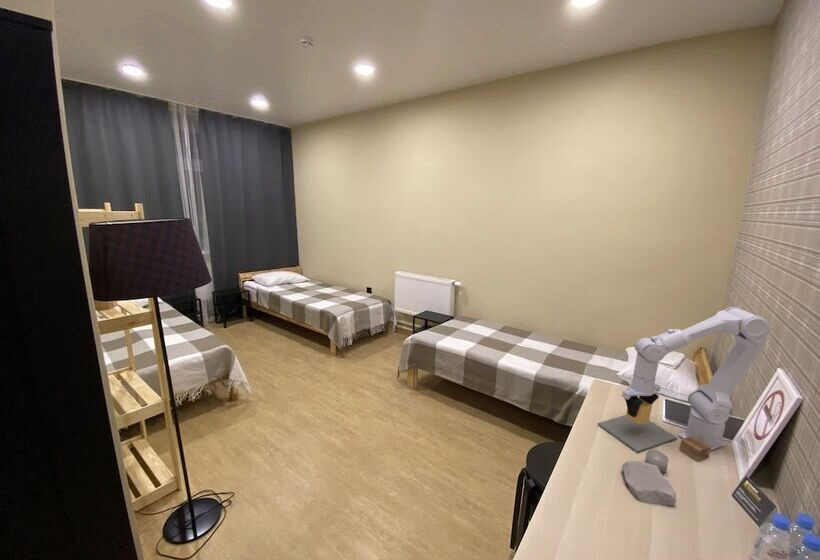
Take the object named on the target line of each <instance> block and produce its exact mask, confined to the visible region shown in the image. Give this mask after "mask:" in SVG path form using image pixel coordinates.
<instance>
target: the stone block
mask: <svg viewBox="0 0 820 560" xmlns="http://www.w3.org/2000/svg"><path fill="white" fill-rule="evenodd" d="M621 468H622V470H623V475H624V479H625V482H626V484H627V487H628V489H629V492H631V494H633V496H634V497H635V498H636V499H637V500H638V501H640V502H642V503H646V504H648V505H662V506H669V507H670V506H671V507H674V506H675V505H676V502H677V492H676V491H675V489H674V487H673V486H672V484H671V482H669V480H668V479H666V478H665V477H664V476H663V475H662V474H661V473H660V470H659V468H658V466H656V465H653V464H649V463H645V461H639V460H638V461H637V460H627V461H626V460H625V462H623V463H622V464H621Z"/></svg>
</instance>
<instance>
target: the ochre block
mask: <svg viewBox="0 0 820 560" xmlns="http://www.w3.org/2000/svg"><path fill="white" fill-rule="evenodd" d="M639 399H640V398H639ZM640 400H642V399H640ZM642 401H644V400H642ZM652 407H653V404H652V405H651V404H649V403H647V402H646V401H644V402H643V403H642V404H641V405H640V407H639V409H638V412H637V415H636V417H632V416H631V415H629V414H628V409H627V408H626V413H625V415H626V417H628V418H629V419H631V420H632V421H634V422H636V423H637V424H639V425H640V424H643V423H646V422H649V421H650V418H651V414H652V409H653V408H652Z"/></svg>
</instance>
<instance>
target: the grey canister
mask: <svg viewBox="0 0 820 560" xmlns="http://www.w3.org/2000/svg"><path fill="white" fill-rule="evenodd" d="M644 463H649V464H653V465H656V466H658V468H659V470H660V473H661V474H662V476H663V475H666V473H667V469H668V464H669V457H668V456H667V455H666V454H664V453H663V452H661V451H659V450H655V449H648V450H646V454H645V460H644Z"/></svg>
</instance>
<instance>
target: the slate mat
mask: <svg viewBox="0 0 820 560" xmlns="http://www.w3.org/2000/svg"><path fill="white" fill-rule="evenodd" d="M597 426H598V427H599V428H601V429H602V430H603V431H605V432H606V433H608V434H609V435H610V436H612V437H614V438H615V439H617V440H618V441H620V443H622V444H623V445H624V446H626V447H628V448H629V449H630V450H631V451H633V452H634V453H636V454H640V453H643V452H645V451H648V450H652V449H653V448H657V447H659V446H662V445H665V444H668V443H671V442H674V441H676V440H678V437H677V436H675V435H674V434H672V433H671V432H669V431H667V430H666V429H664V428H662V427H660V426H659V425H658V424H656V423H654V422H652V421H651V420H649V422H646V423H643V424H640V425H639V424H637V423H636V422H634V421H632V420H631V419H629V418H628V417H626V414H624V415H621V416H618V417H617V416H616V417H615V418H611V419H607V420H603V421H600V422H597Z"/></svg>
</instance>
